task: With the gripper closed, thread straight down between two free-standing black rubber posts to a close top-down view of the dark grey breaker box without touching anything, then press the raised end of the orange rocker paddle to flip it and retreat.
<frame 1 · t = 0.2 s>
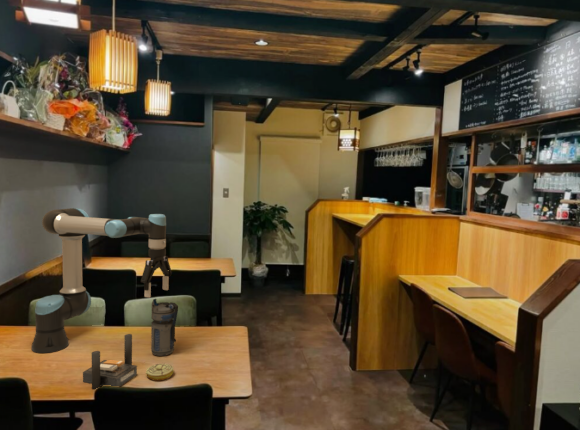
hand: (156, 293, 193), 28 cm above the table, fingers open, 13 cm apart
paddle orange: (113, 363, 170), point 6 cm above the table, hinge at -4.5°
beverage bottle: (164, 353, 195), on the table
post far: (128, 366, 179), on the table
decorated donut: (160, 376, 173), on the table
post near: (96, 387, 161), on the table
paddle ivory: (106, 367, 166), point 6 cm above the table, hinge at -4.5°
breaker box: (110, 378, 169), on the table
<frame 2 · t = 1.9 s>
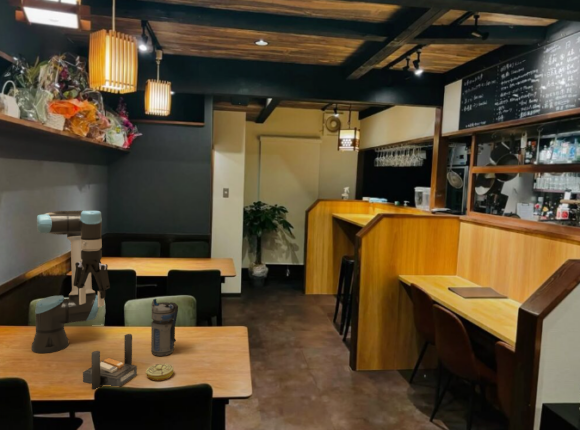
hand: (91, 304, 169), 29 cm above the table, fingers open, 8 cm apart
paddle orange: (113, 363, 170), point 6 cm above the table, hinge at 9.7°
paddle ivory: (106, 367, 166), point 6 cm above the table, hinge at 9.7°
everything else where it was.
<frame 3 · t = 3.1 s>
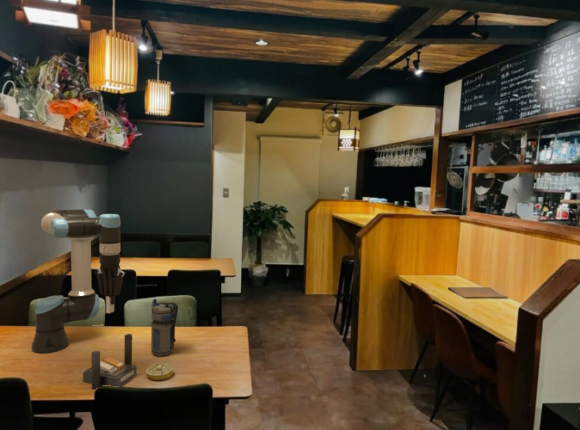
hand: (110, 311, 166), 28 cm above the table, fingers closed
paddle orange: (113, 363, 170), point 6 cm above the table, hinge at 13.0°, touching breaker box
paddle ivory: (106, 367, 166), point 6 cm above the table, hinge at 13.0°, touching breaker box
everything else where it was.
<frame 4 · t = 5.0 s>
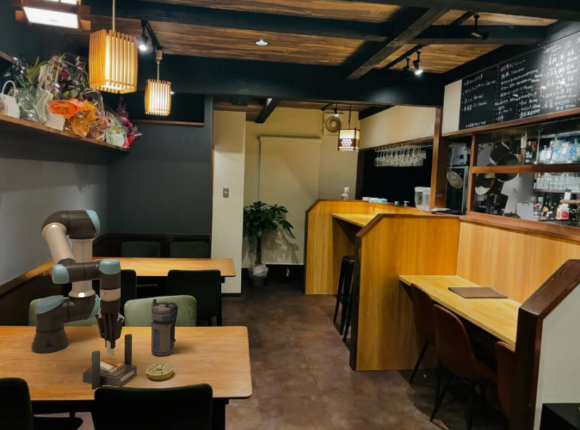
hand: (110, 355, 168), 9 cm above the table, fingers closed
paddle orange: (113, 363, 170), point 6 cm above the table, hinge at 11.8°, touching breaker box
paddle ivory: (106, 367, 166), point 6 cm above the table, hinge at 11.8°, touching breaker box
everything else where it was.
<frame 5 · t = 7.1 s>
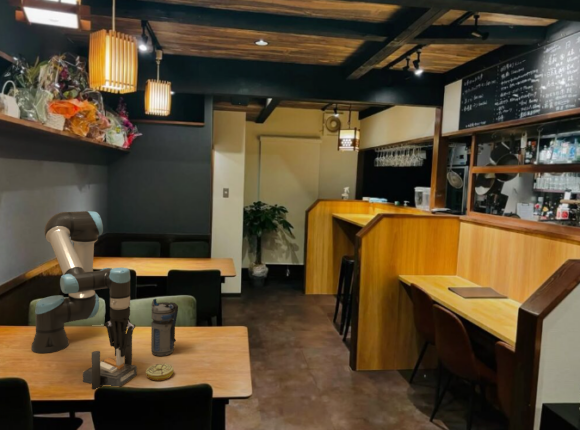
hand: (120, 363, 169), 6 cm above the table, fingers closed
paddle orange: (113, 363, 170), point 6 cm above the table, hinge at 11.5°, touching gripper
paddle ivory: (106, 367, 166), point 6 cm above the table, hinge at 11.5°
everything else where it was.
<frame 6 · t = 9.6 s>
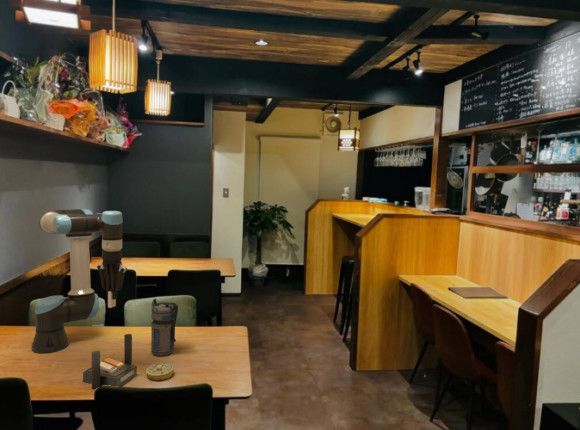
hand: (111, 306, 170), 28 cm above the table, fingers closed
paddle orange: (113, 363, 170), point 6 cm above the table, hinge at 11.4°
everything else where it was.
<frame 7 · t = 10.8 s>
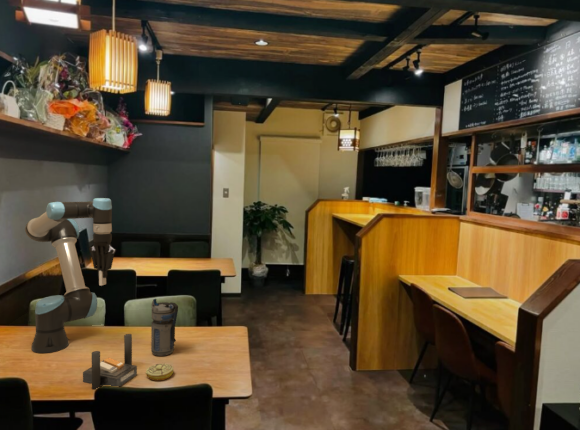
hand: (102, 284, 189), 32 cm above the table, fingers closed
nothing on the table moved.
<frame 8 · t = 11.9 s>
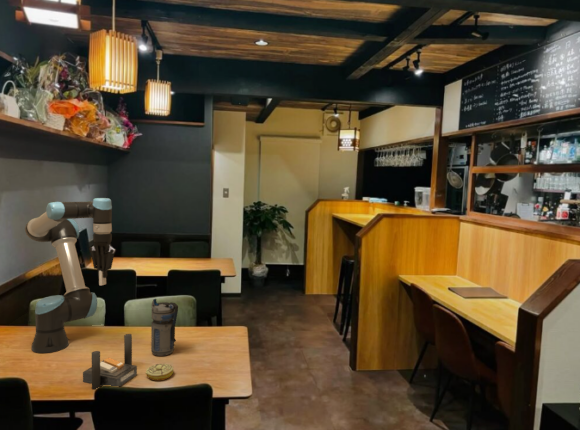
hand: (102, 284, 189), 32 cm above the table, fingers closed
nothing on the table moved.
at the end: post near moved 0.0 cm from its start; post far moved 0.0 cm from its start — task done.
